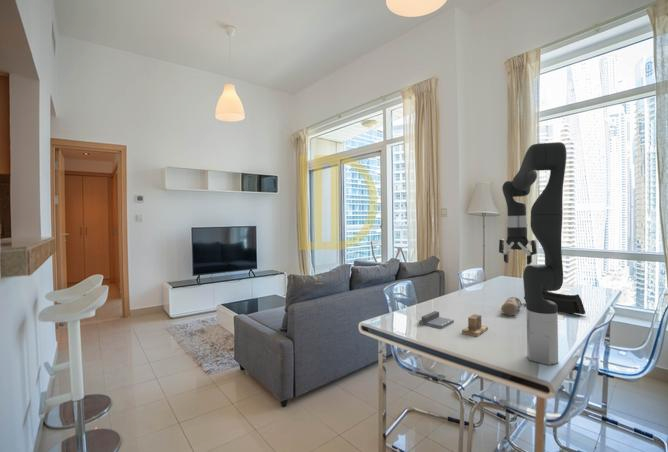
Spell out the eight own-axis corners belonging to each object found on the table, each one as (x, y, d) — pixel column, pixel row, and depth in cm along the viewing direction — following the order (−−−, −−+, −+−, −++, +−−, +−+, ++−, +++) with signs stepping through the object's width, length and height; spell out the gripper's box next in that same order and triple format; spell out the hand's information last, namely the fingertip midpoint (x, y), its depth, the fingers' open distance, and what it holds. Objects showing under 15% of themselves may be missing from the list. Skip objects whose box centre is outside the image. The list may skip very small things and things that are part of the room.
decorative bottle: (517, 317, 162) (517, 304, 162) (501, 315, 166) (500, 302, 166) (524, 305, 182) (524, 294, 182) (509, 304, 187) (509, 292, 187)
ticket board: (441, 328, 147) (441, 321, 147) (418, 323, 155) (418, 316, 155) (454, 322, 156) (454, 314, 156) (431, 317, 164) (431, 310, 164)
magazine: (591, 299, 158) (534, 273, 184) (587, 300, 157) (530, 274, 183) (580, 329, 163) (526, 300, 189) (576, 330, 162) (522, 300, 188)
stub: (477, 336, 136) (477, 321, 136) (462, 333, 141) (461, 318, 141) (487, 329, 144) (487, 314, 144) (473, 326, 149) (472, 312, 149)
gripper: (496, 226, 142) (497, 263, 142) (533, 226, 132) (534, 265, 132) (502, 226, 147) (502, 261, 147) (538, 226, 137) (538, 263, 137)
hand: (517, 263), depth 140 cm, fingers open, 8 cm apart
